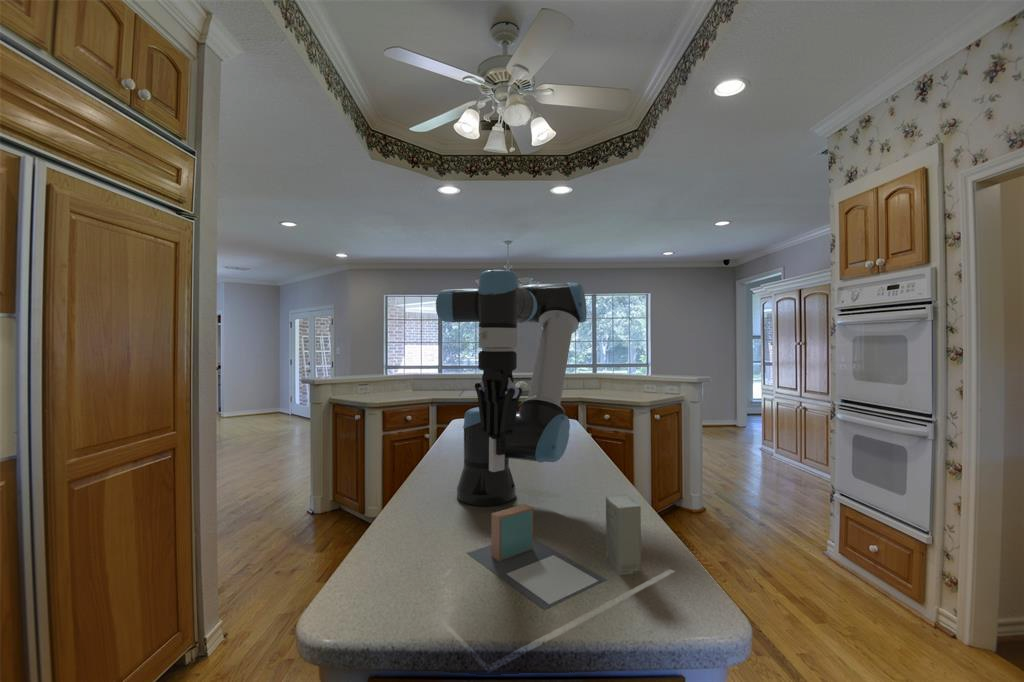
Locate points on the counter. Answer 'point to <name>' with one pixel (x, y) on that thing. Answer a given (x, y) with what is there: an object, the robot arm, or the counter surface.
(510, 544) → the tile
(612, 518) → the skincare box
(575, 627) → the counter surface
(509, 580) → the mat
